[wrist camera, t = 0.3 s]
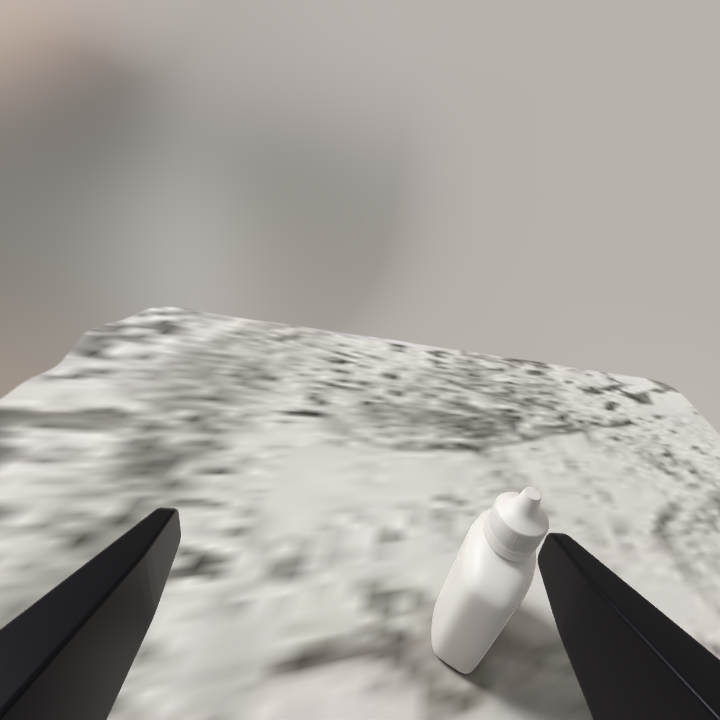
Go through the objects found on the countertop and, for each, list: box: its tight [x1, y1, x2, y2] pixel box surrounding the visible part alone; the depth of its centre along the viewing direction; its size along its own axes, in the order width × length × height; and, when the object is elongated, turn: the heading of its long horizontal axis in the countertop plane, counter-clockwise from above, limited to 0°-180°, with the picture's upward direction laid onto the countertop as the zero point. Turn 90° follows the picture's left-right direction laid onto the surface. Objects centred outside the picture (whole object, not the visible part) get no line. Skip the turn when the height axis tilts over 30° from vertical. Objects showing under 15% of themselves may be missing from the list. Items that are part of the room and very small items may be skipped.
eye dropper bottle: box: [431, 487, 549, 674], centre depth 20 cm, size 4×6×12 cm
